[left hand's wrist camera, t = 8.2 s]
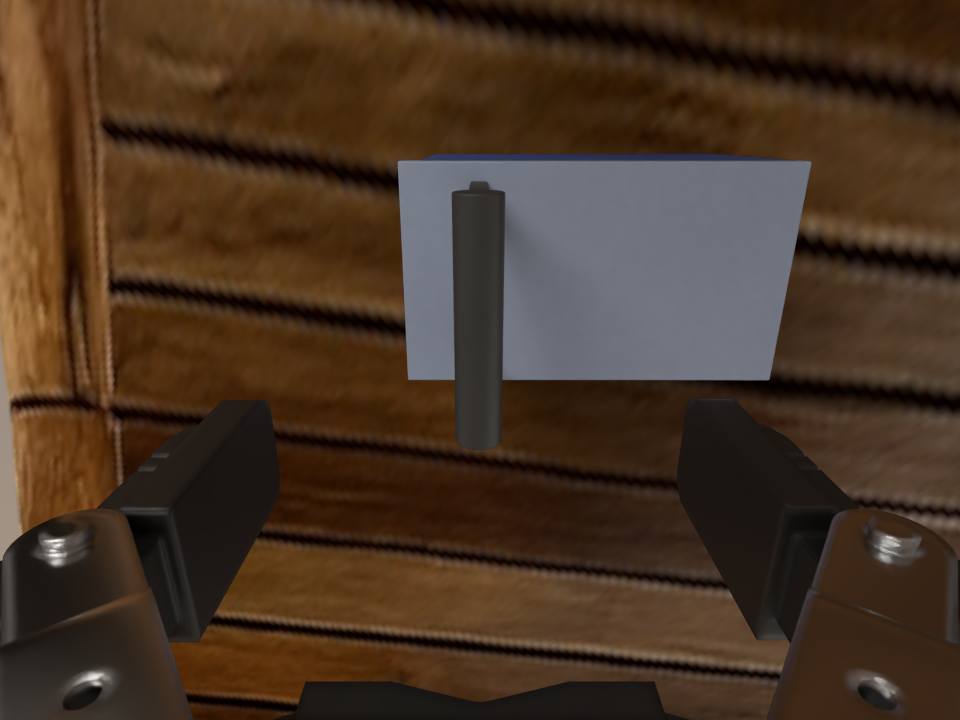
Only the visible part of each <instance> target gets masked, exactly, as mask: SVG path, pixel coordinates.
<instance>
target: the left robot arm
mask: <svg viewBox="0 0 960 720" xmlns="http://www.w3.org/2000/svg"><path fill="white" fill-rule="evenodd" d="M677 485H678V492H679V497H680V500H681V503H682V505H683V507H684V509H685V510H686V512H687V514H688V516H689V518H690V519H691V521H692V523H693V525H694V527H695V529H696V530H697V532H698V534H699V536H700V538H701V539H702V541H703V543H704V545H705V547H706V549H707V550H708V552H709V554H710V556H711V558H712V559H713V561H714V563H715V565H716V567H717V569H718V570H719V572H720V574H721V576H722V578H723V579H724V581H725V583H726V585H727V587H728V589H729V590H730V592H731V594H732V596H733V598H734V599H735V601H736V603H737V605H738V607H739V609H740V610H741V612H742V614H743V616H744V618H745V619H746V621H747V623H748V625H749V627H750V629H751V630H752V632H753V634H754V636H755V638H756V639H757V640H788V641H789V642H790V644H791V645H790V648H789V651H788V654H787V657H786V660H785V663H784V666H783V670H782V673H781V676H780V679H779V682H778V685H777V688H776V691H775V695H774V698H773V701H772V704H771V707H770V710H769V713H768V716H767V720H960V560H957V556H956V554H955V552H954V550H953V549H952V548H951V546H950V545H949V544H948V543H947V542H946V541H945V540H944V539H942V538H941V537H940V536H938V535H937V534H936V533H934V532H933V531H931V530H929V529H928V528H926V527H924V526H922V525H920V524H918V523H916V522H914V521H912V520H909V519H907V518H904V517H901V516H898V515H896V514H892V513H888V512H884V511H879V510H873V509H860V508H859V507H858V506H857V505H856V504H855V503H854V502H853V501H852V500H851V499H850V498H849V497H848V496H847V495H846V494H845V493H844V492H843V491H842V490H841V489H840V488H839V487H838V486H837V485H836V484H835V483H834V482H833V481H832V480H831V479H830V478H828V477H827V476H826V475H825V474H824V473H823V472H822V471H821V470H818V469H817V466H816V465H815V464H814V463H813V462H812V461H811V460H810V459H809V458H808V457H804V453H803V452H802V451H801V450H800V449H799V448H798V447H797V446H796V445H795V444H794V443H793V442H792V441H791V440H790V439H789V438H787V437H786V436H784V435H782V434H780V433H778V432H776V431H774V430H773V429H771V428H769V427H767V426H765V425H763V424H757V423H756V422H755V420H754V419H753V418H752V417H751V416H750V415H749V414H748V413H747V412H746V411H745V410H744V409H743V408H742V407H741V406H740V405H739V404H738V403H737V402H736V401H735V400H733V399H692V400H691V401H690V402H689V404H688V406H687V409H686V414H685V421H684V428H683V435H682V442H681V449H680V456H679V463H678V471H677ZM279 486H280V472H279V465H278V458H277V451H276V444H275V437H274V430H273V423H272V416H271V411H270V407H269V405H268V403H267V402H266V401H265V400H223V401H221V402H220V403H219V404H218V405H217V406H216V407H215V408H214V409H213V410H212V411H211V412H210V413H209V414H208V416H207V417H206V418H205V419H204V420H203V421H202V422H201V423H200V424H199V425H193V426H191V427H189V428H187V429H185V430H184V431H182V432H180V433H178V434H176V435H174V436H173V437H171V438H169V439H168V440H167V441H166V442H164V443H163V444H162V445H161V446H160V447H159V448H158V449H157V450H156V451H155V452H154V453H153V454H152V458H148V459H147V460H146V461H145V462H144V463H143V464H142V465H141V466H140V467H139V468H138V471H135V472H134V473H132V474H131V475H130V476H129V477H128V478H127V479H126V480H125V481H124V482H123V483H122V484H121V485H120V486H119V487H118V488H117V489H116V490H115V491H114V492H113V493H112V494H111V495H110V496H109V497H108V498H107V499H106V500H105V501H104V502H103V503H102V504H100V505H99V506H98V507H97V508H96V509H87V510H81V511H76V512H72V513H68V514H64V515H62V516H59V517H56V518H53V519H51V520H48V521H46V522H44V523H42V524H40V525H38V526H36V527H34V528H32V529H31V530H29V531H27V532H26V533H24V534H23V535H22V536H20V537H19V538H18V539H16V540H15V541H14V542H13V543H12V544H11V545H10V546H9V548H8V549H7V550H6V552H5V554H4V556H3V560H2V561H0V720H193V716H192V713H191V710H190V707H189V704H188V701H187V698H186V695H185V691H184V688H183V685H182V682H181V679H180V676H179V673H178V670H177V666H176V663H175V660H174V657H173V654H172V651H171V648H170V645H169V642H199V641H200V639H201V637H202V635H203V633H204V632H205V630H206V628H207V626H208V624H209V623H210V621H211V619H212V617H213V615H214V614H215V612H216V610H217V608H218V606H219V605H220V603H221V601H222V599H223V597H224V596H225V594H226V592H227V590H228V588H229V587H230V585H231V583H232V581H233V579H234V578H235V576H236V574H237V572H238V571H239V569H240V567H241V565H242V563H243V562H244V560H245V558H246V556H247V554H248V553H249V551H250V549H251V547H252V545H253V544H254V542H255V540H256V538H257V536H258V535H259V533H260V531H261V529H262V527H263V526H264V524H265V522H266V520H267V518H268V517H269V515H270V513H271V511H272V509H273V508H274V506H275V504H276V501H277V498H278V493H279ZM274 720H686V719H684V718H681V717H678V716H675V715H671V714H667V713H664V710H663V707H662V704H661V701H660V698H659V694H658V691H657V688H656V685H655V682H565V683H561V684H557V685H553V686H549V687H545V688H541V689H537V690H532V691H528V692H524V693H520V694H516V695H512V696H508V697H504V698H500V699H496V700H492V701H486V702H474V701H468V700H464V699H460V698H456V697H452V696H448V695H444V694H440V693H436V692H432V691H428V690H423V689H419V688H415V687H411V686H407V685H403V684H399V683H395V682H305V685H304V688H303V691H302V694H301V698H300V701H299V704H298V707H297V710H296V713H293V714H289V715H285V716H282V717H279V718H276V719H274Z"/></svg>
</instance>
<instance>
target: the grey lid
mask: <svg viewBox="0 0 960 720" xmlns="http://www.w3.org/2000/svg"><path fill="white" fill-rule="evenodd" d="M810 168H811V162H810V161H399V162H398V176H399V197H400V217H401V238H402V259H403V280H404V301H405V322H406V342H407V363H408V379H409V380H455V425H456V441H457V443H458V444H459V445H460V446H462V447H464V448H467V449H472V450H485V449H490V448H493V447H495V446H497V445H498V444H499V443H500V442H501V439H502V385H503V380H769V379H770V373H771V368H772V363H773V358H774V353H775V348H776V343H777V337H778V332H779V327H780V322H781V317H782V312H783V307H784V301H785V296H786V291H787V286H788V281H789V276H790V271H791V265H792V260H793V255H794V250H795V245H796V240H797V235H798V229H799V224H800V219H801V214H802V209H803V204H804V199H805V193H806V188H807V183H808V178H809V173H810Z"/></svg>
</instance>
